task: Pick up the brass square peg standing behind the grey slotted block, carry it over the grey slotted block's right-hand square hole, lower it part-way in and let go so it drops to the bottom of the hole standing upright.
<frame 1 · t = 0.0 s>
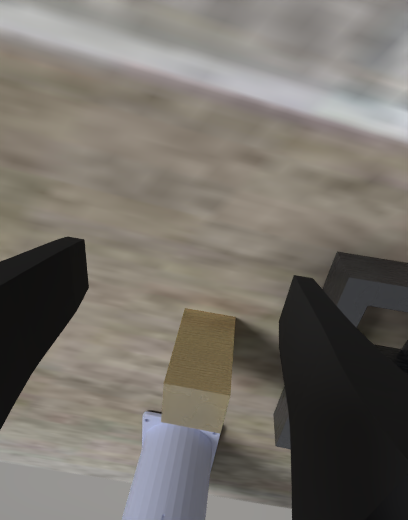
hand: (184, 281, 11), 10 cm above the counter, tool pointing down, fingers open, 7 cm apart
brass peg: (207, 331, 26), on the counter
grey slotted block: (356, 358, 25), on the counter
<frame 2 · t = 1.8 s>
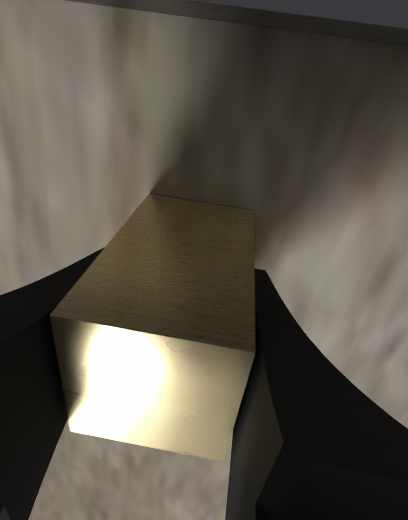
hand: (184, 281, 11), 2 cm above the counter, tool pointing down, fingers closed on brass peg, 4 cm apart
brass peg: (195, 247, 13), on the counter, touching gripper
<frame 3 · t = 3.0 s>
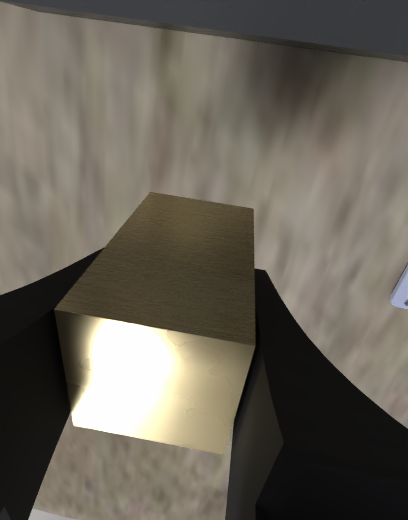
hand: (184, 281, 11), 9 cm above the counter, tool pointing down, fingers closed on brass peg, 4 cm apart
brass peg: (195, 245, 13), point 6 cm above the counter, touching gripper
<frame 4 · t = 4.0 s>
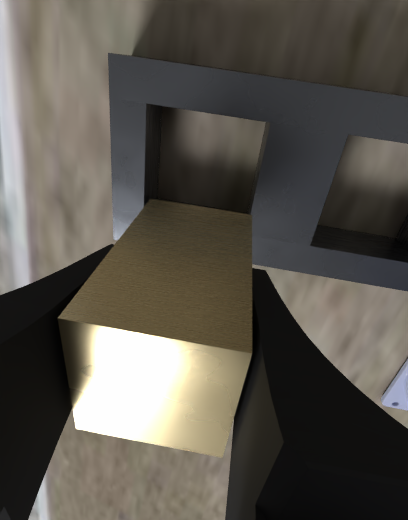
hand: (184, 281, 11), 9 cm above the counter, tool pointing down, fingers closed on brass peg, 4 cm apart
brass peg: (195, 250, 13), point 7 cm above the counter, touching gripper
grey slotted block: (286, 172, 18), on the counter
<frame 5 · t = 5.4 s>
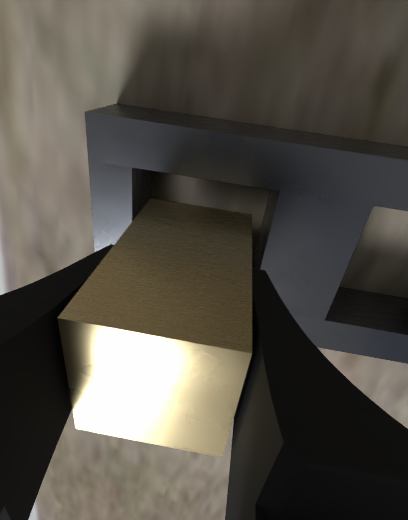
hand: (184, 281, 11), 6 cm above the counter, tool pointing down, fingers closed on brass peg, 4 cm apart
brass peg: (195, 250, 13), point 3 cm above the counter, touching gripper
grey slotted block: (296, 230, 16), on the counter
when the fingers open (4 cm above the counter, at t = 6.3 s): brass peg drops 1 cm, resting in grey slotted block.
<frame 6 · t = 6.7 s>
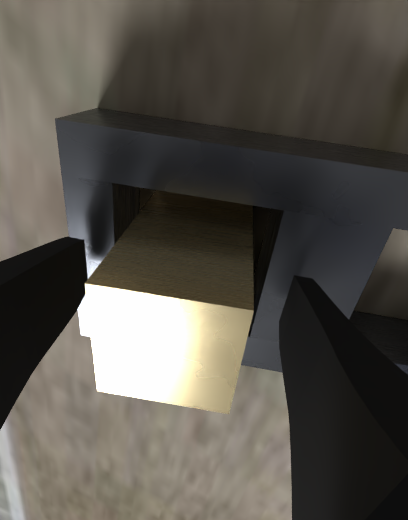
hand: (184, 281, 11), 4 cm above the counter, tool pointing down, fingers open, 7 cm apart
brass peg: (200, 237, 14), resting in grey slotted block
grey slotted block: (300, 249, 14), on the counter
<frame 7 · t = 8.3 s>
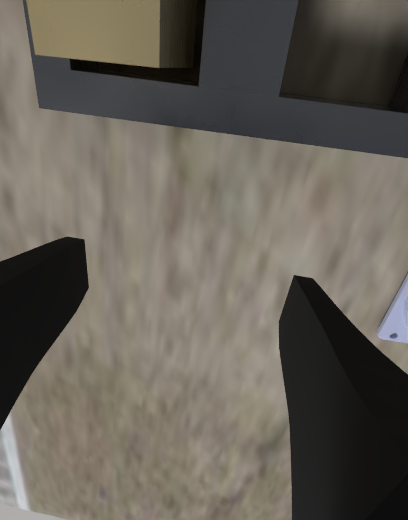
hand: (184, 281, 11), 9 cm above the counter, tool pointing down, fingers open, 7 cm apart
brass peg: (154, 13, 15), resting in grey slotted block
grey slotted block: (250, 18, 14), on the counter
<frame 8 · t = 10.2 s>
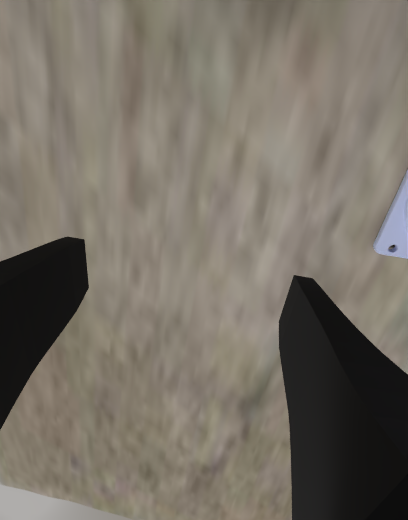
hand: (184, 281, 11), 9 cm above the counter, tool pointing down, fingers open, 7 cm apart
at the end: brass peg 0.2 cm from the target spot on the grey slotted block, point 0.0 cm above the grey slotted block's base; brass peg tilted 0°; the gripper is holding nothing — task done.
